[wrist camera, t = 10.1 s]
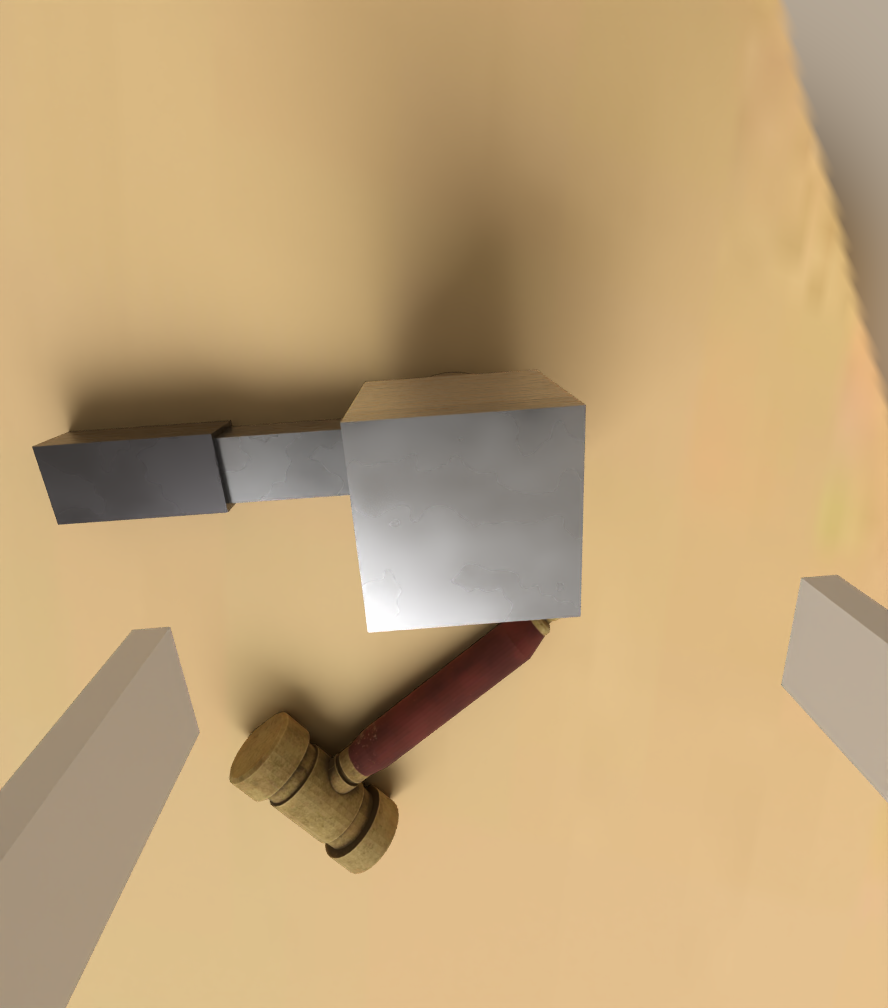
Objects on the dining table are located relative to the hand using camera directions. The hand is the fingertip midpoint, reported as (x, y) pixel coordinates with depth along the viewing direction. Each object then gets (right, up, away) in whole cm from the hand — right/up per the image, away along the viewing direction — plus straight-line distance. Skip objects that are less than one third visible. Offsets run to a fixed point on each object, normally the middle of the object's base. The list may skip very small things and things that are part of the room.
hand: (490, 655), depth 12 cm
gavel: (-3, -8, +23) cm, 25 cm away
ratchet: (-8, +6, +17) cm, 20 cm away
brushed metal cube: (0, +5, +14) cm, 15 cm away
